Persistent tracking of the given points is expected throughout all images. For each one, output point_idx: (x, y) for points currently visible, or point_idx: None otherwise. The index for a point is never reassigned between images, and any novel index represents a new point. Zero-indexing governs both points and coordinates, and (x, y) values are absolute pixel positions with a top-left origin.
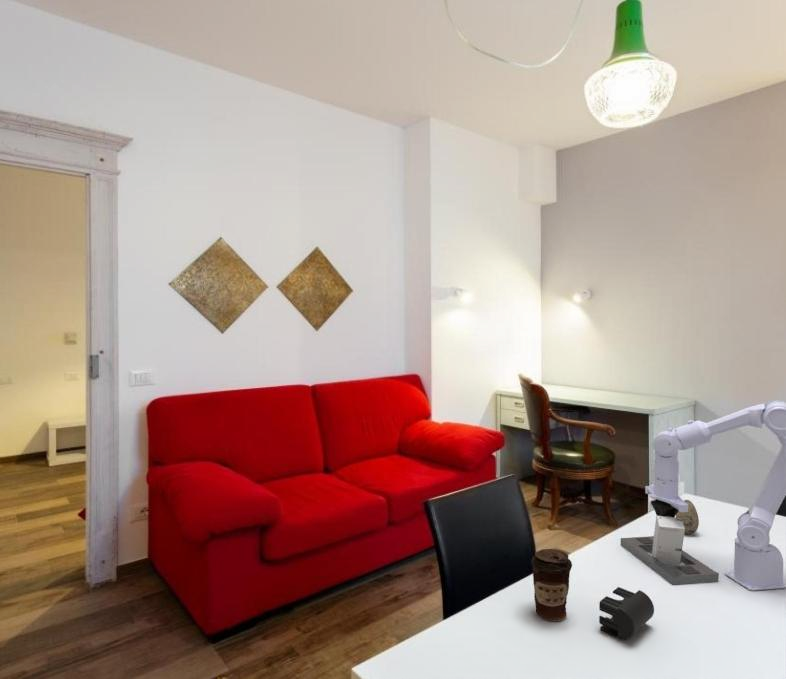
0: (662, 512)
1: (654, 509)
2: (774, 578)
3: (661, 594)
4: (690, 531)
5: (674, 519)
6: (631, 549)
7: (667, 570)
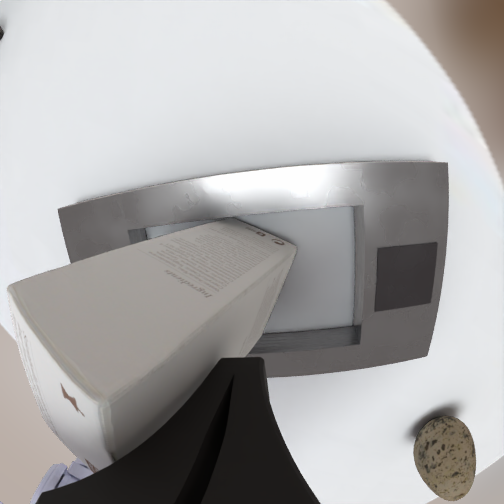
0: (89, 477)
1: (296, 488)
2: None
3: (36, 143)
4: (418, 436)
5: (89, 460)
6: (351, 162)
7: (94, 213)
